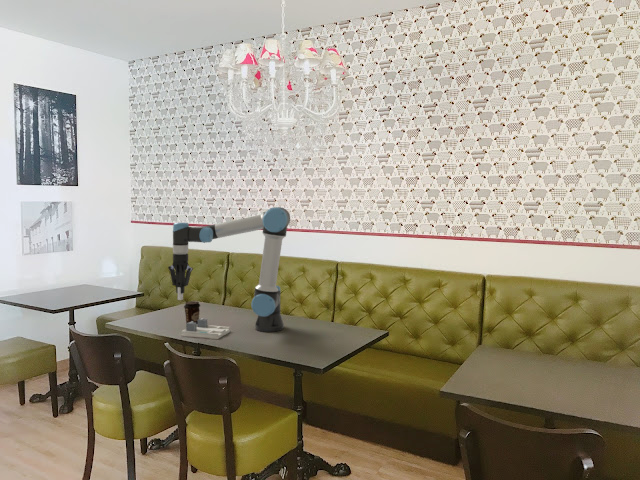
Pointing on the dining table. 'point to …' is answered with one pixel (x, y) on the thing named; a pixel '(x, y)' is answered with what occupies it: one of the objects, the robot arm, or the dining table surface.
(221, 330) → the switch bank
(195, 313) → the coffee cup
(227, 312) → the dining table surface
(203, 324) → the tab
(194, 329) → the tab
